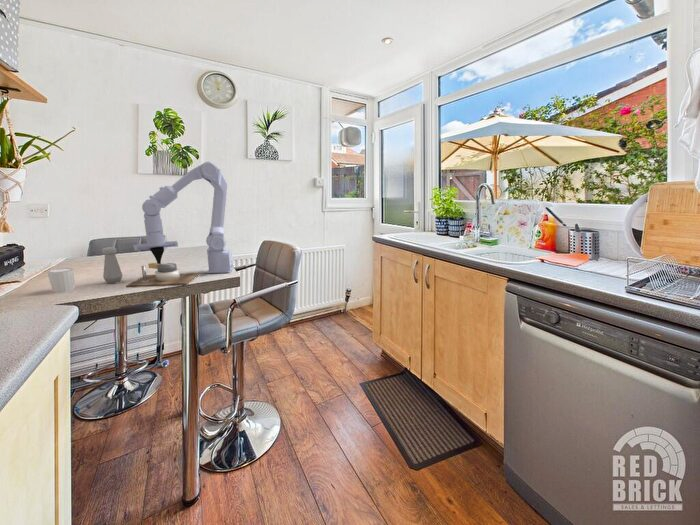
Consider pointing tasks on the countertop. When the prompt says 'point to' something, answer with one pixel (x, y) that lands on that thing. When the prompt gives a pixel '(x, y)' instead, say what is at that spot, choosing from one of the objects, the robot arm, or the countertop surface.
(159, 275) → the jar
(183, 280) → the board
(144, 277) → the stop pin
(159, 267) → the lid
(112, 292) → the countertop surface
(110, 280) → the salt shaker
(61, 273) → the grey tapered cup
